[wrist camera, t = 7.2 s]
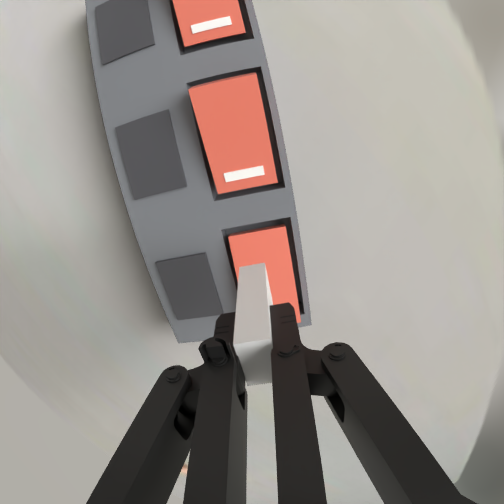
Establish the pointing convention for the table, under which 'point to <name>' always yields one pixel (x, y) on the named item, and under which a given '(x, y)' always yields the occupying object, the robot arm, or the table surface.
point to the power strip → (184, 156)
